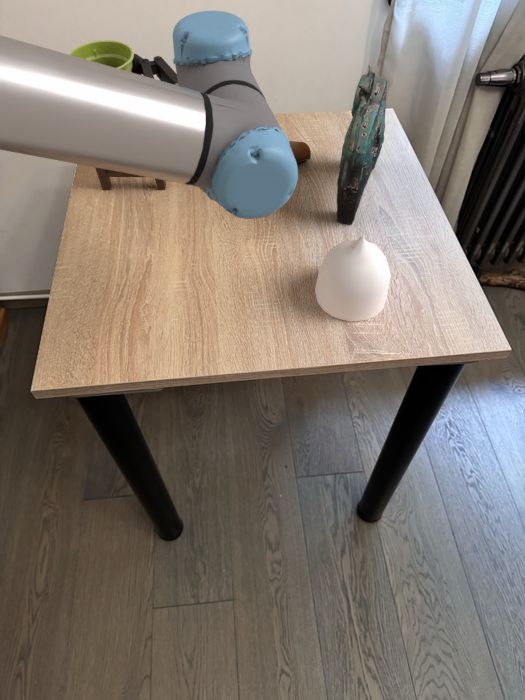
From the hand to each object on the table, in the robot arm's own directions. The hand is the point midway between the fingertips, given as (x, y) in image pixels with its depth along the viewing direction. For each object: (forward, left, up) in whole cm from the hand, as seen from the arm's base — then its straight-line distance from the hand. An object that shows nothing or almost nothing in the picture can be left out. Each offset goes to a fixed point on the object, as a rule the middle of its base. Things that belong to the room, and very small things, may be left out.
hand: (89, 62), depth 75 cm
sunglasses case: (+25, +6, -22) cm, 34 cm away
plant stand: (+2, +5, -22) cm, 23 cm away
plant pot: (+3, -4, -6) cm, 8 cm away
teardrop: (+39, -26, -22) cm, 52 cm away
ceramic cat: (+42, -2, -22) cm, 48 cm away
